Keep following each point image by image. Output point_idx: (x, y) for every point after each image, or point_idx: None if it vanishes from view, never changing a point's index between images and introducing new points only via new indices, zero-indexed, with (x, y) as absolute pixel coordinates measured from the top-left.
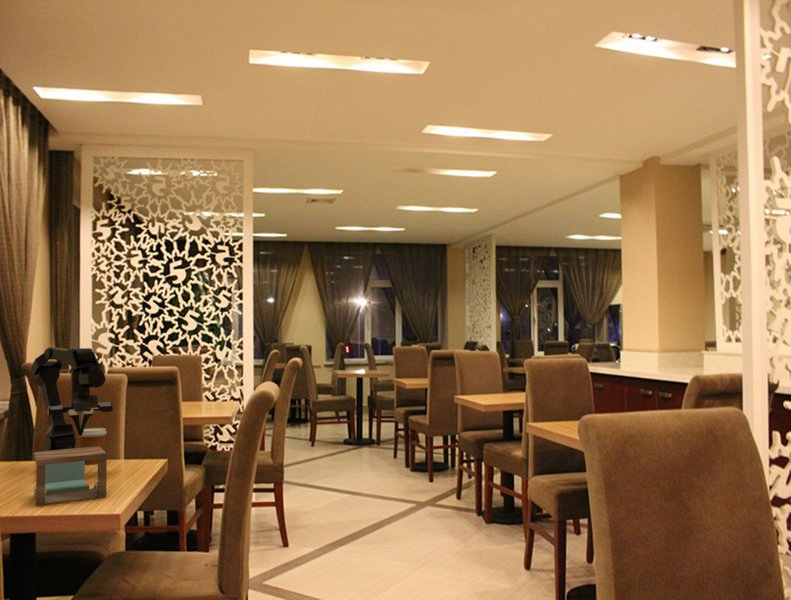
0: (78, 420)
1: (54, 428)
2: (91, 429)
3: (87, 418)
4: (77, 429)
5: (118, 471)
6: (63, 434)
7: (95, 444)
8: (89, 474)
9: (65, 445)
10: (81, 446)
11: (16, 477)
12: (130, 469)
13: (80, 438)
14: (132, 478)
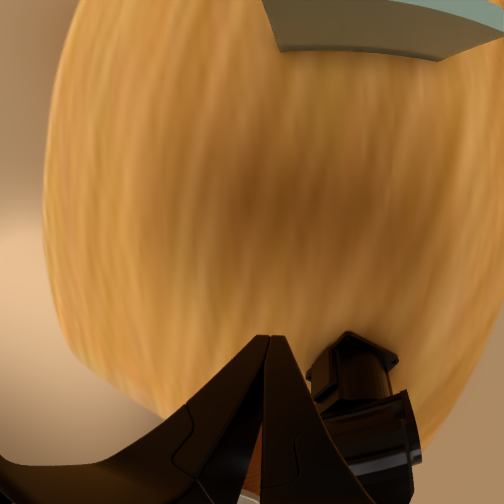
0: (274, 490)
1: (404, 497)
2: None
3: (102, 471)
4: (300, 379)
5: (144, 247)
6: (355, 468)
7: None
8: (250, 249)
9: (340, 422)
10: (260, 469)
11: (469, 338)
12: (111, 262)
13: (259, 492)
14: (102, 64)
